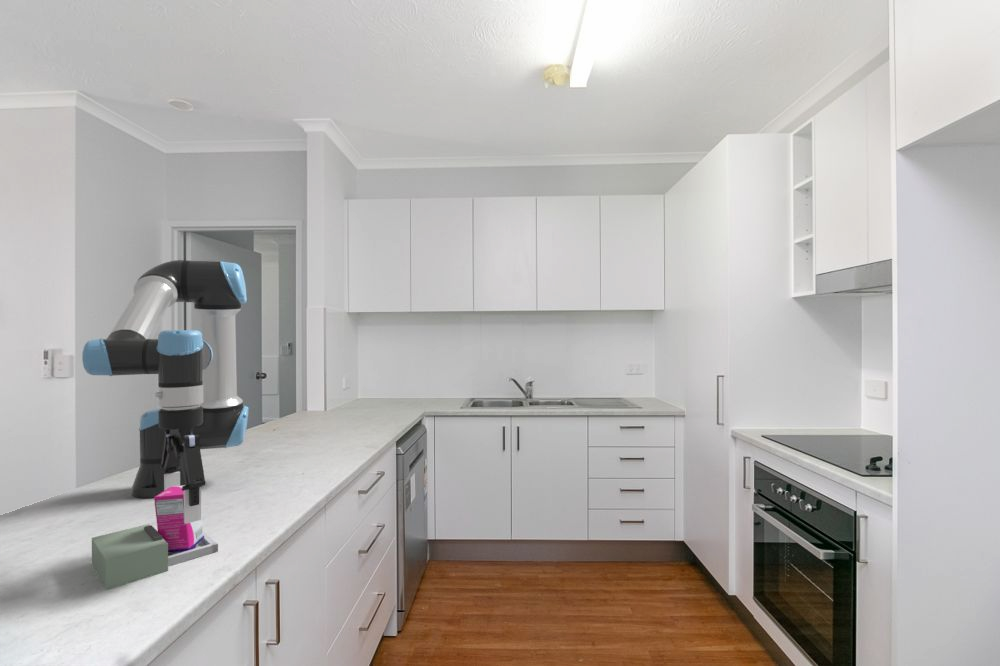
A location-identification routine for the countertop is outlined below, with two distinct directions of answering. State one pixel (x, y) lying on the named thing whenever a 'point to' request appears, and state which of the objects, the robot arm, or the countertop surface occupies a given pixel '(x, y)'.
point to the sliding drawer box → (139, 555)
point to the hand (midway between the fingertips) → (182, 512)
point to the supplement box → (176, 521)
